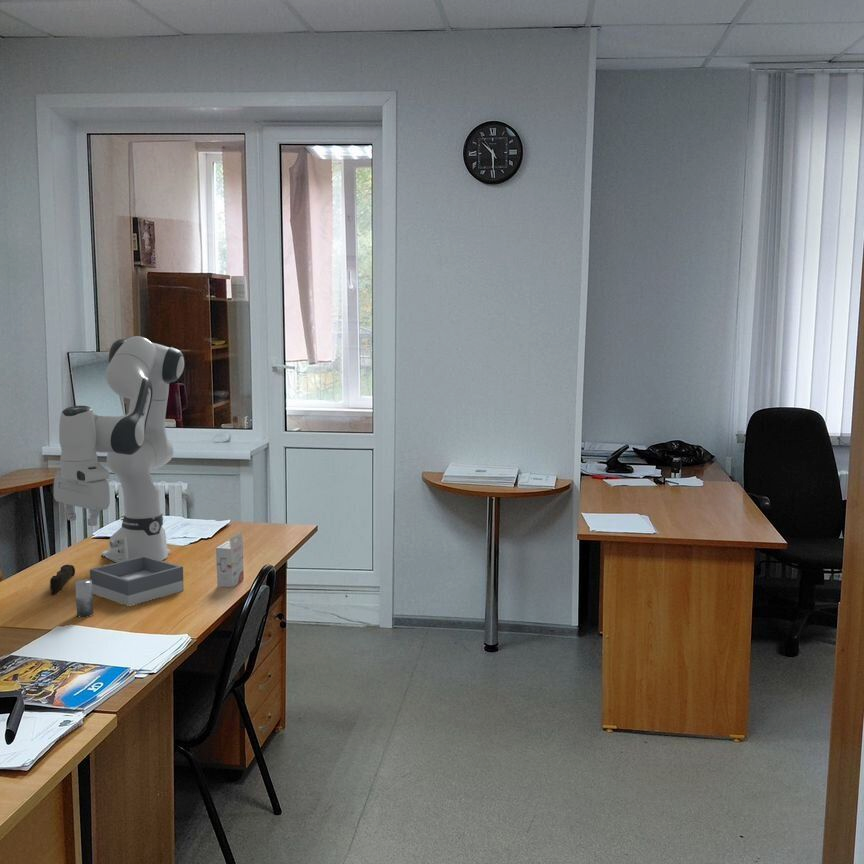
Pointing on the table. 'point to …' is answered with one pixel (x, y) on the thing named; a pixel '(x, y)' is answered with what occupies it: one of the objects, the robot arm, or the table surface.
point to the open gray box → (137, 580)
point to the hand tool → (61, 578)
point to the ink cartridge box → (230, 562)
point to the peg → (84, 598)
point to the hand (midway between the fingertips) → (82, 522)
